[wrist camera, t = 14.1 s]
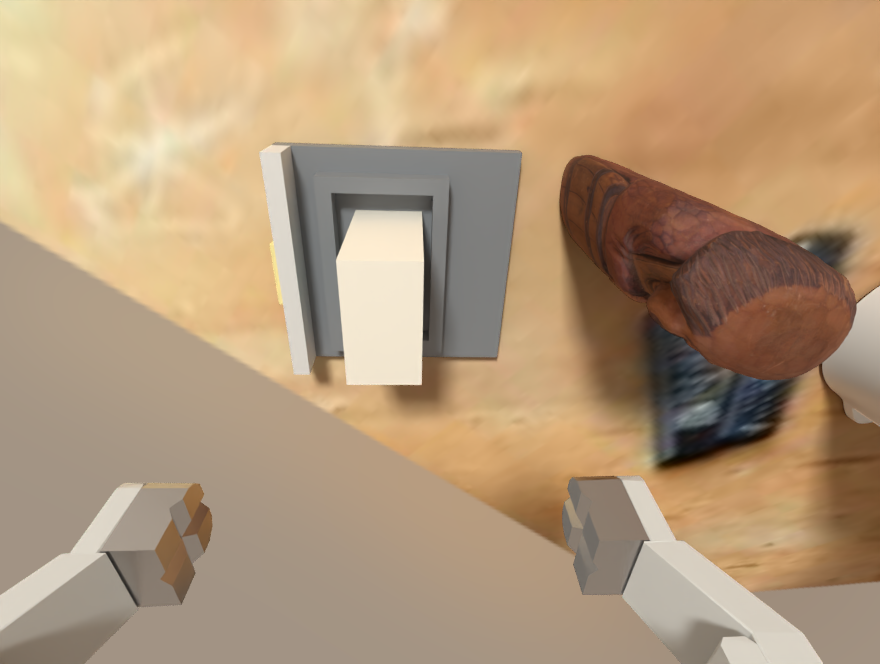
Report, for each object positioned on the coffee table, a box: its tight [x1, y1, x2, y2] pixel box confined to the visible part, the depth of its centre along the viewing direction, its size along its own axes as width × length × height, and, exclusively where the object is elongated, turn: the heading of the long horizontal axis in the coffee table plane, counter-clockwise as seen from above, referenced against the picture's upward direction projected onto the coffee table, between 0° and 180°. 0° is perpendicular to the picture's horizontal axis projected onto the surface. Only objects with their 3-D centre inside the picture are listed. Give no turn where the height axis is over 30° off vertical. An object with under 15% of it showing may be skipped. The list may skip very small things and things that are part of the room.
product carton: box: [336, 210, 424, 385], centre depth 29 cm, size 5×8×9 cm, turn 178°
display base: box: [259, 143, 522, 374], centre depth 33 cm, size 16×16×4 cm
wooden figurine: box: [560, 155, 857, 380], centre depth 25 cm, size 12×6×18 cm, turn 67°
